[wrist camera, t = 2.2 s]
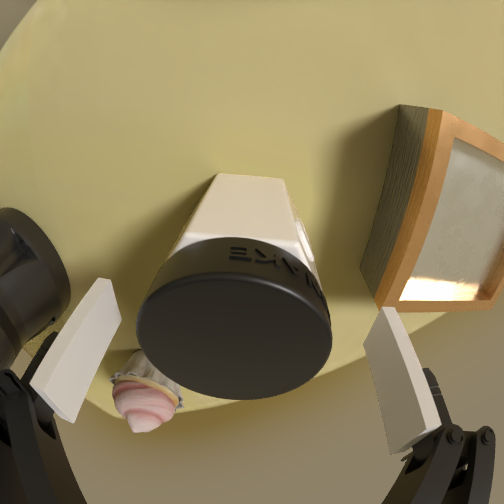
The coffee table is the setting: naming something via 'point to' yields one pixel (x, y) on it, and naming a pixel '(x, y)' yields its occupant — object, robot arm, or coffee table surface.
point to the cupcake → (144, 394)
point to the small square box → (438, 218)
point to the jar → (238, 296)
